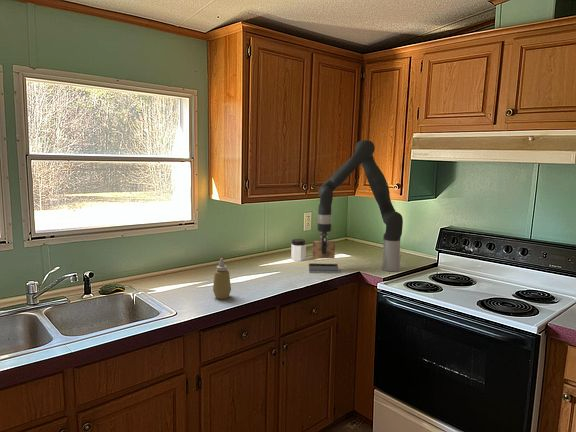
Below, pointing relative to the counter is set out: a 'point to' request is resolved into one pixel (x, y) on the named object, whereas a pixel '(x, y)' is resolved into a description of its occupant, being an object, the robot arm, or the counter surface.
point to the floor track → (323, 268)
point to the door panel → (318, 250)
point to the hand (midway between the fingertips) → (323, 253)
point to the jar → (298, 250)
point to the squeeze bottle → (221, 281)
